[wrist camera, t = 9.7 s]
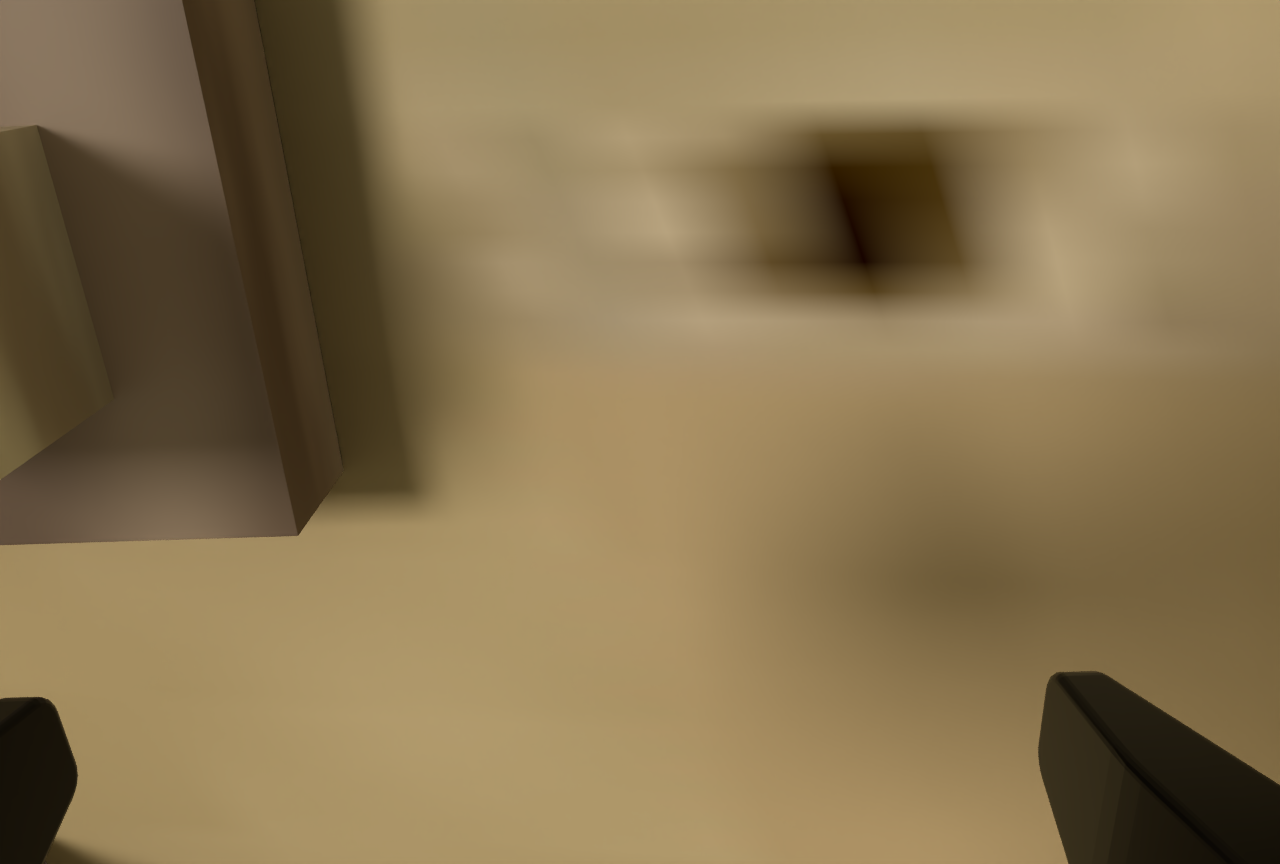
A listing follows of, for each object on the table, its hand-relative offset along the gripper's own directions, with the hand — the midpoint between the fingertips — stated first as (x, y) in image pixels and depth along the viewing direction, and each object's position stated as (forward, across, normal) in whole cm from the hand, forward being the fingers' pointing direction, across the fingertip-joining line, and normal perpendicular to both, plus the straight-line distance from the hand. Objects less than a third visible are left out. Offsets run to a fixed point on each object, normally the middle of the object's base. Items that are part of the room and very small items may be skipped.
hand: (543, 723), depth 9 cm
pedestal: (+13, +12, -2) cm, 18 cm away
